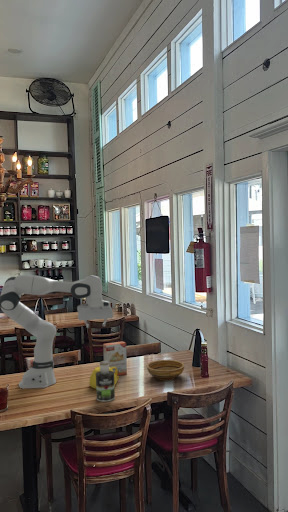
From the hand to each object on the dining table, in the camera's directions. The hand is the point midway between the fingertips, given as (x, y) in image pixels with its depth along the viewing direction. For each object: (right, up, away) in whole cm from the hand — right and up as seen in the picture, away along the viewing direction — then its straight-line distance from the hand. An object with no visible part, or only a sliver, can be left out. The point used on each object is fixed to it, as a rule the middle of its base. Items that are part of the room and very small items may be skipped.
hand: (95, 326), depth 253 cm
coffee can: (+7, -38, -13) cm, 40 cm away
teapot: (+5, -37, +7) cm, 38 cm away
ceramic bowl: (+42, -35, +20) cm, 58 cm away
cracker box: (+10, -36, +28) cm, 47 cm away
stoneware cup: (+6, -23, -13) cm, 28 cm away
